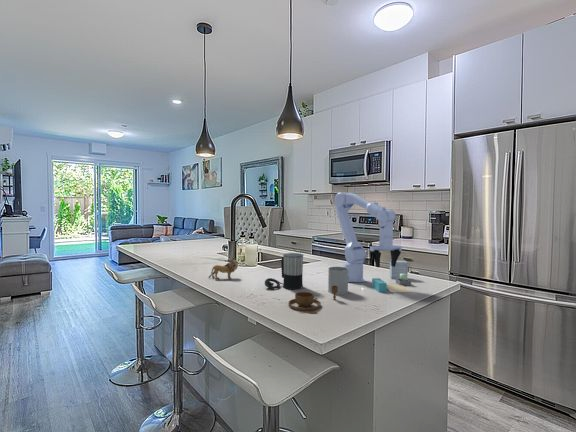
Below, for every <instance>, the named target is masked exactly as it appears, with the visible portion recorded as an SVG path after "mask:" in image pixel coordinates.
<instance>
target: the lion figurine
mask: <svg viewBox="0 0 576 432" xmlns="http://www.w3.org/2000/svg"><path fill="white" fill-rule="evenodd" d="M238 267H239V264H238V261H237V260H236V259H233V260H230V262H227V263H226V264H225V265H220V264H215V265H214V266H212V269H211V273H210V275H209V276H208V277H207V278H209V279H210V278H213V279H214V278H215V279H216V280H219V279H220V278H219V277H218V274H219V272H220V273H221V274H222V273H223V274H227V279H228V280H232V277H231V273H234V272H235V271H236V270H237V269H238Z"/></svg>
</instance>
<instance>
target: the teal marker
mask: <svg viewBox="0 0 576 432" xmlns="http://www.w3.org/2000/svg"><path fill="white" fill-rule="evenodd" d="M371 281H372V283H371V285H372V286H371V287H372V288H373V289H374V290H375V291H377V292H378V293H387V290H388V289H387V285H388V284H387V282H386V281H384V280H383V279H381V278H379V277H378V278H377V277H375V278H372V279H371Z"/></svg>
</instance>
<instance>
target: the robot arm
mask: <svg viewBox="0 0 576 432" xmlns="http://www.w3.org/2000/svg"><path fill="white" fill-rule="evenodd" d="M333 201H334V205H335V211H336V212H335V213H336V216H337V219H338V222H339V225H340V228H341V232H342V234H343V238H344V241H345V243H346V246H345V247H344V257H345V258H344V259H345V261H346V262H343V266H342V267H345V268H348V283H366V280H365V279H364V262H365V260H366V259H367V255H368V254H367V251H366V250H365V249H364V247H363V244H362V243H360V242H359V241H358V238H357V235H356V233H355V230H354V227H353V224H352V221H351V218H350V215H349V211H350V210H351V209H352V208H353V206H354V205H357V206H358V207H360V208H363V209H365V210H366V211H365V212H366V213H367V214H368V215H371V217H374V218H375V219H377V221H378V226H379V241H378V244H379V245H375V246H374V245H372V246H369V251H370V253H371V254H372V257H373V259H374V265H375V267H377V268H380V266H381V256H382V253H381V251H382V252H385V251H386V252H387V251H389V252H390V258H391V259H390V261H391V266H393V267H395V265H396V262H397V261H398V259H399V257H400V255H401V252H402V251H403V250H402V249H403V246H401V245H393V241H394V239H393V238H394V221H395V220H396V218H397V216H396V215H397V214H396V212H395V211H394V210H393V209H387V208H386V206H382V205H380V204H379V202H376V201H374V202H373V201H371V202H369V201H367V200H366V199H365V198H363V197H361V196H359V195H358V194H356V193H354V192H337V193H336V195H335V197H334V200H333Z"/></svg>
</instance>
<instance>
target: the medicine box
mask: <svg viewBox="0 0 576 432" xmlns="http://www.w3.org/2000/svg"><path fill="white" fill-rule="evenodd" d="M408 266H409V265H408V262H407V261H406V260H397V262H396V265H395V267H393V266H391V260H390V261H389V277H390V279H392V280H396V279H400V274H401V273H404V274H407V275H408V268H409V267H408Z"/></svg>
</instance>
